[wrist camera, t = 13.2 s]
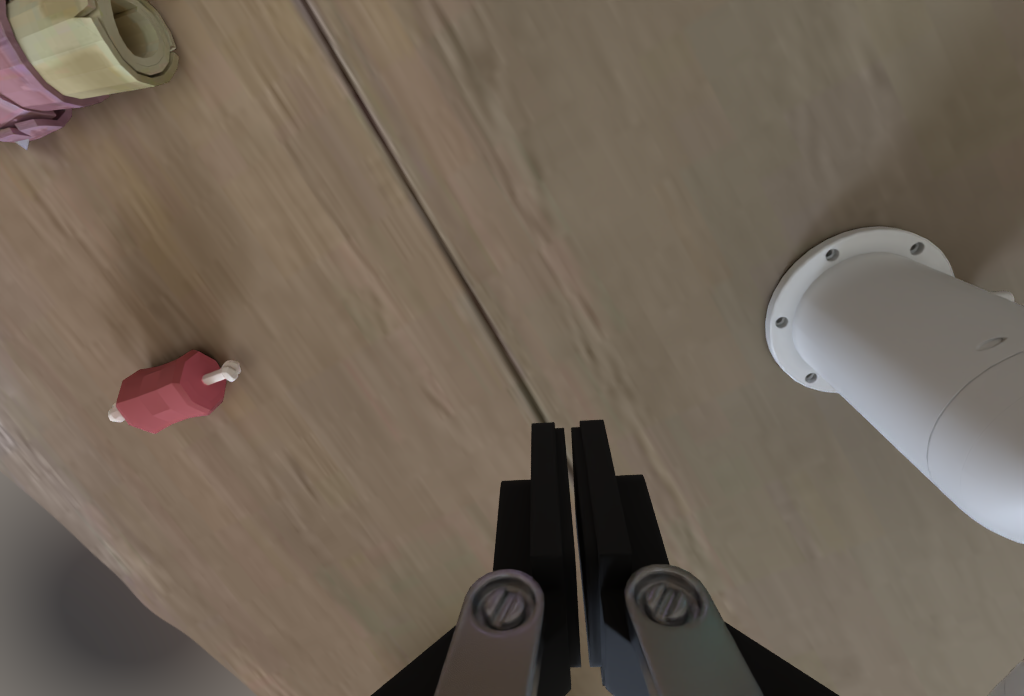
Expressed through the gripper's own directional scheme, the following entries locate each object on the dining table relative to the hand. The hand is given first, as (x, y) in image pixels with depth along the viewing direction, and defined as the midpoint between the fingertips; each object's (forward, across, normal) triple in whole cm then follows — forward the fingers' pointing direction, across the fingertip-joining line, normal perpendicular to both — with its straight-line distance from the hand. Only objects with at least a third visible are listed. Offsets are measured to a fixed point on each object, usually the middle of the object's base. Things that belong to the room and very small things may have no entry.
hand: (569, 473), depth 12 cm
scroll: (+27, +32, -12) cm, 44 cm away
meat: (+27, +30, +10) cm, 42 cm away
